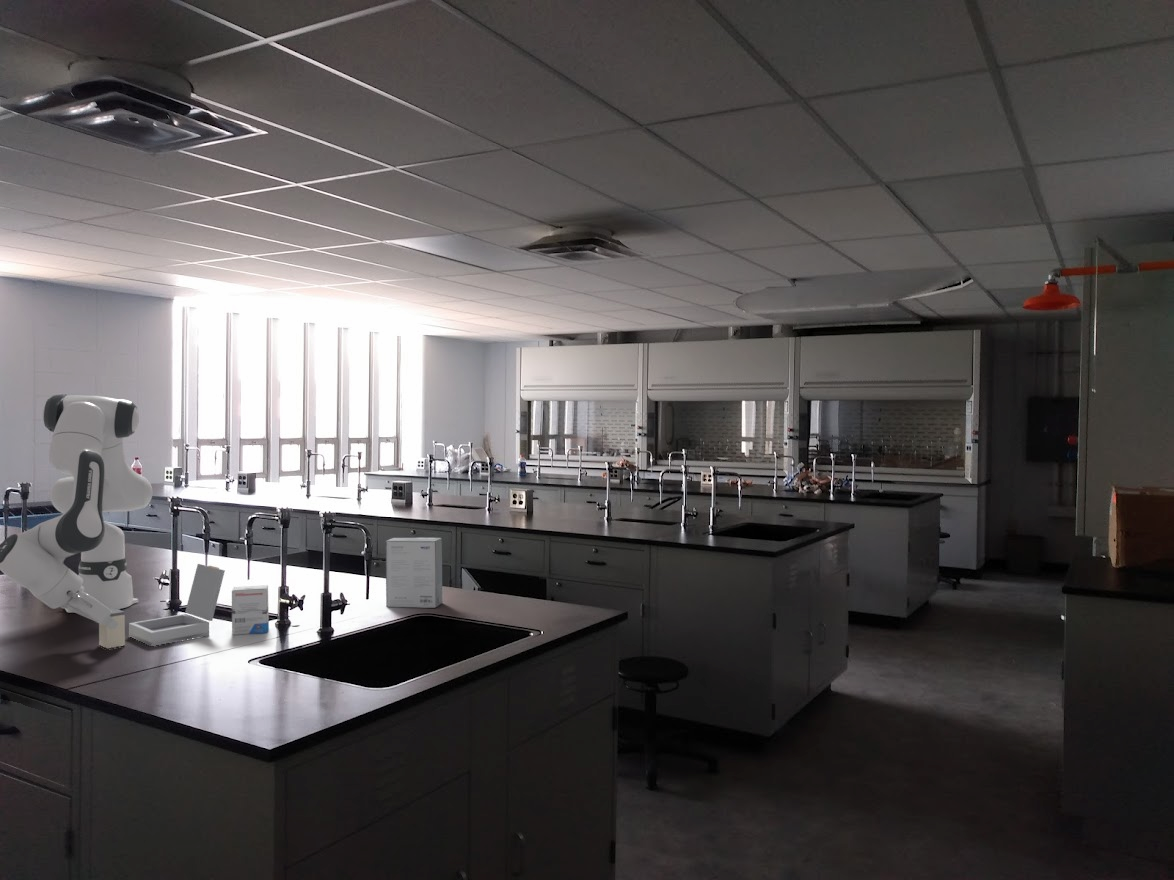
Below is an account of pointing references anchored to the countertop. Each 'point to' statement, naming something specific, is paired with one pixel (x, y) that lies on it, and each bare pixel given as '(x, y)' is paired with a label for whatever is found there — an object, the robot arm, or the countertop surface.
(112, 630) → the block
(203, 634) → the case
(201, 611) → the case lid
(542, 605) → the countertop surface
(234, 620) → the ink box
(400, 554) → the hard drive box
